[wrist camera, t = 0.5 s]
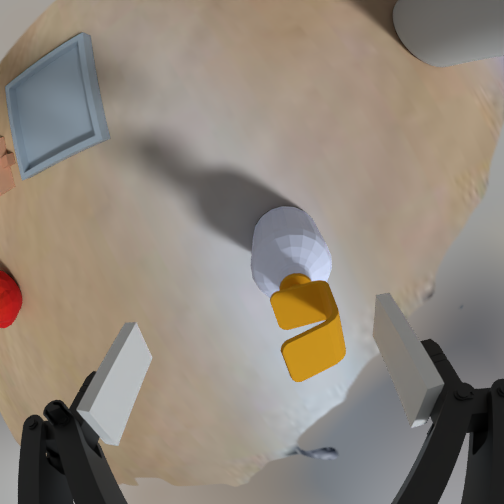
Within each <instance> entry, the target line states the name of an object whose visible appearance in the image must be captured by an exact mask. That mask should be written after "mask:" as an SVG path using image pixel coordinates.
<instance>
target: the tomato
mask: <svg viewBox="0 0 504 504" xmlns="http://www.w3.org/2000/svg"><path fill="white" fill-rule="evenodd" d="M21 306H22V295H21V292H20V289H19V287H18V286H17V284H16V283H15V281H14V280H13V279H12V278H11V277H10V276H9V275H8V274H6V273H5V272H4V271H0V328H6V327H8V326H10V325H11V324H12V323H13V322H14V320H15V319H16V317H17V315H18V313H19V310H20V309H21Z"/></svg>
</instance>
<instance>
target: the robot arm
mask: <svg viewBox="0 0 504 504" xmlns="http://www.w3.org/2000/svg"><path fill="white" fill-rule="evenodd" d="M373 337H374V339H375V341H376V344H377V346H378V348H379V350H380V353H381V355H382V357H383V359H384V362H385V364H386V367H387V369H388V371H389V373H390V376H391V378H392V381H393V383H394V385H395V388H396V390H397V393H398V395H399V398H400V400H401V403H402V406H403V408H404V411H405V413H406V416H407V419H408V421H409V424H410V427H411V428H413V427H416V426H419V425H423V424H425V423H427V421H428V419H429V417H431V419H432V421H433V424H432V426H431V427H430V429H429V431H428V433H427V437H426V440H425V442H424V444H423V446H422V448H421V450H420V452H419V454H418V457H417V459H416V461H415V463H414V464H413V466H412V468H411V471H410V472H409V474H408V476H407V478H406V480H405V481H404V483H403V485H402V487H401V488H400V490H399V492H398V494H397V495H396V497H395V498H394V500H393V502H392V503H391V504H438V502H439V500H440V498H441V496H442V493H443V492H444V489H445V487H446V485H447V483H448V480H449V478H450V476H451V473H452V471H453V468H454V466H455V463H456V461H457V458H458V455H459V453H460V450H461V447H462V444H463V441H464V438H465V435H466V433H470V437H469V451H468V461H467V471H466V478H465V485H464V491H463V496H462V502H461V504H504V379H498V380H497V381H495V382H494V383H493V385H492V387H491V388H484V389H474V388H473V387H472V386H471V385H469V384H467V383H463V382H461V380H460V378H459V377H458V375H457V373H456V372H455V370H454V369H453V367H452V365H451V364H450V362H449V361H448V360H447V357H446V356H445V354H443V351H442V349H441V348H440V346H439V345H438V344H437V343H436V342H434V341H433V340H431V339H428V340H424V341H419V339H418V337H417V336H416V334H415V332H414V330H413V329H412V327H411V326H410V324H409V322H408V321H407V319H406V318H405V316H404V315H403V313H402V311H401V310H400V308H399V307H398V305H397V304H396V302H395V301H394V299H393V298H392V296H391V295H390V293H385V294H380V295H376V304H375V317H374V328H373ZM151 360H152V356H151V354H150V352H149V350H148V347H147V345H146V343H145V341H144V339H143V336H142V334H141V332H140V329H139V327H138V325H137V322H132V323H125V324H124V326H123V327H122V329H121V331H120V332H119V334H118V336H117V337H116V339H115V341H114V342H113V344H112V346H111V348H110V349H109V351H108V353H107V354H106V356H105V358H104V360H103V361H102V363H101V365H100V367H99V368H98V370H97V372H96V371H93V372H92V373H91V374H90V375H89V376H88V377H87V378H86V379H85V381H84V383H83V386H81V388H80V390H79V392H78V394H77V395H76V397H75V399H74V401H73V403H72V405H71V406H70V408H69V409H68V407H67V406H66V405H65V404H64V402H62V401H61V400H54V401H52V402H50V403H48V405H47V406H46V407H45V409H44V412H43V415H44V416H45V417H46V418H47V419H48V421H44V420H43V419H42V418H41V417H40V416H38V415H32V416H30V417H28V418H27V419H26V421H25V422H24V425H23V432H22V439H21V449H20V459H19V475H18V504H74V503H73V500H74V502H75V504H127V502H126V500H125V498H124V496H123V494H122V492H121V490H120V488H119V486H118V484H117V482H116V480H115V478H114V476H113V474H112V472H111V469H110V467H109V465H108V463H107V460H106V458H105V456H104V453H103V451H102V448H101V446H100V445H99V443H98V440H99V437H100V438H101V439H102V440H103V441H104V443H105V444H110V445H116V446H118V445H119V442H120V439H121V436H122V434H123V431H124V428H125V426H126V423H127V420H128V418H129V415H130V412H131V410H132V407H133V405H134V402H135V400H136V397H137V394H138V392H139V389H140V387H141V384H142V382H143V379H144V377H145V375H146V372H147V370H148V367H149V365H150V362H151ZM46 453H47V456H46Z"/></svg>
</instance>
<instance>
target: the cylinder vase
mask: <svg viewBox="0 0 504 504" xmlns="http://www.w3.org/2000/svg"><path fill="white" fill-rule="evenodd" d="M393 23H394V27H395V30H396V32H397V34H398V36H399V38H400V40H401V41H402V43H403V44H404V45H405V46H406V48H407V49H408V50H409V51H410V52H411V53H412V54H413V55H414V56H416V57H417V58H418V59H420V60H421V61H423V62H425V63H427V64H429V65H432V66H436V67H448V66H452V65H457V64H462V63H466V62H471V61H477V60H482V59H488V58H494V57H500V56H504V0H398V1H397V3H396V4H395V6H394V9H393Z"/></svg>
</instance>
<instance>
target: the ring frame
mask: <svg viewBox="0 0 504 504" xmlns="http://www.w3.org/2000/svg"><path fill="white" fill-rule="evenodd" d="M13 164H15V159H14V155H13V153H10V154H7V150H6V145H5V140H4V137H1V138H0V196H1V195H3V194H4V193H6V192H7V191H9V190H11V189H12V188H14V187H15V184H14V180H13V176H12V172H11V168H10V166H12V165H13Z"/></svg>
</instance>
